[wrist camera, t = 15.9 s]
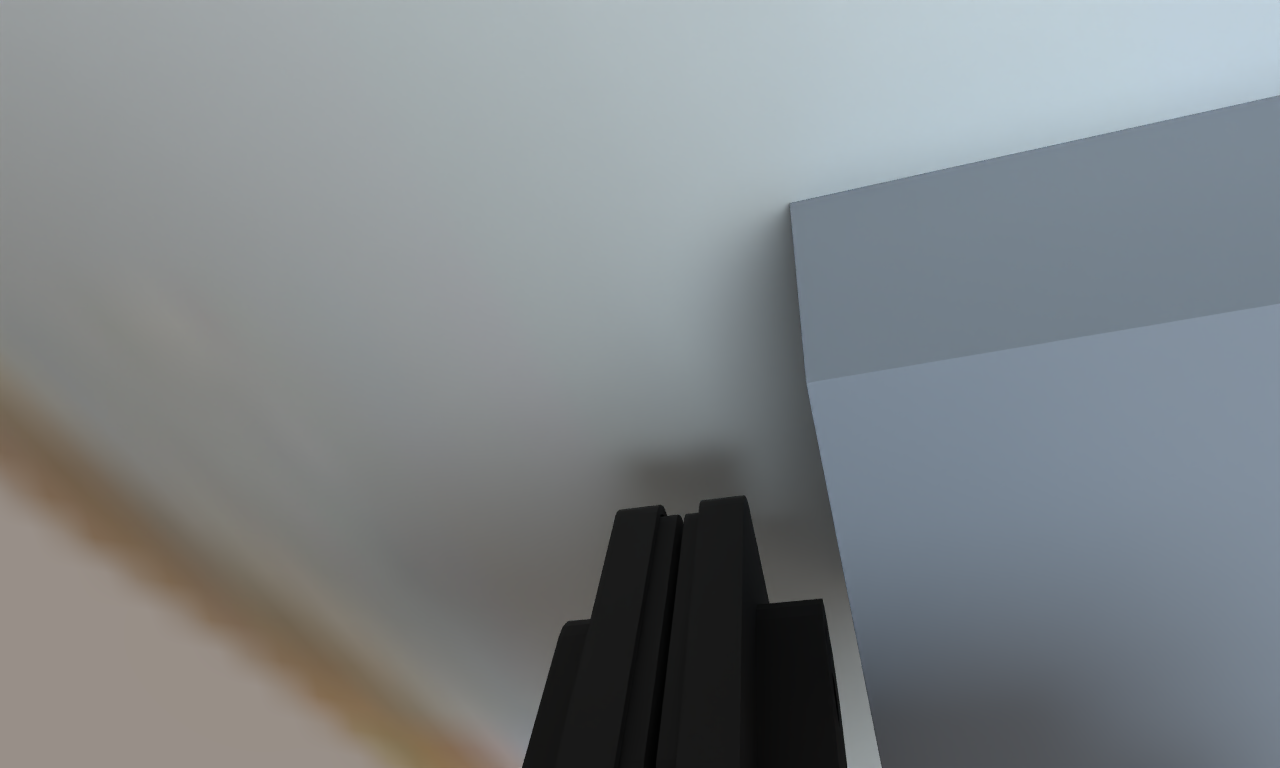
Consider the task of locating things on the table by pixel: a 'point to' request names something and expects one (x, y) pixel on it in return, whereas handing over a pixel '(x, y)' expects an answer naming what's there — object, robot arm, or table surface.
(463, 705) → the table surface
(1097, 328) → the long grey plank
